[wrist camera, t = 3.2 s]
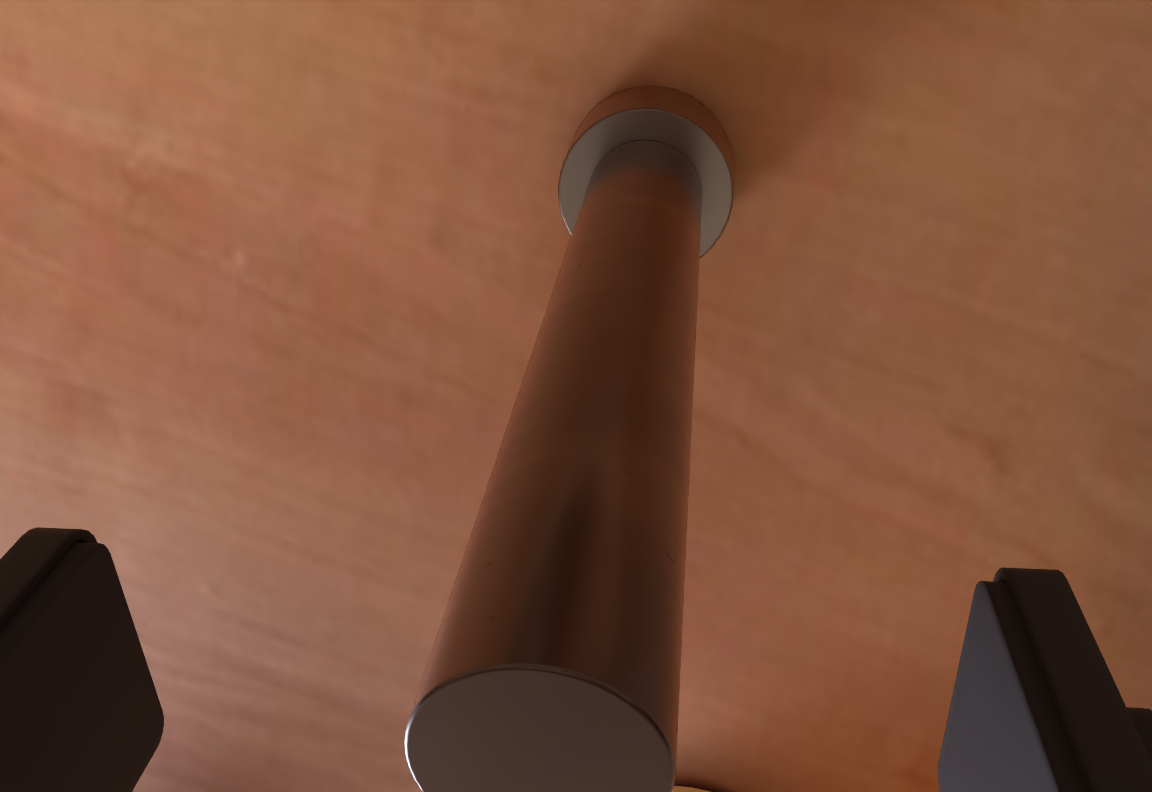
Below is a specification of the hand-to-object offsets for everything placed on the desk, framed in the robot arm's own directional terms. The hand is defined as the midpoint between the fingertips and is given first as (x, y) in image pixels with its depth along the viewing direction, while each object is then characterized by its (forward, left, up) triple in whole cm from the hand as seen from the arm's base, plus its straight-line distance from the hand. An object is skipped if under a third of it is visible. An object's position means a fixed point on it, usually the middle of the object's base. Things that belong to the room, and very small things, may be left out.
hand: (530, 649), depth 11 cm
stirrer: (0, 0, -16) cm, 16 cm away
